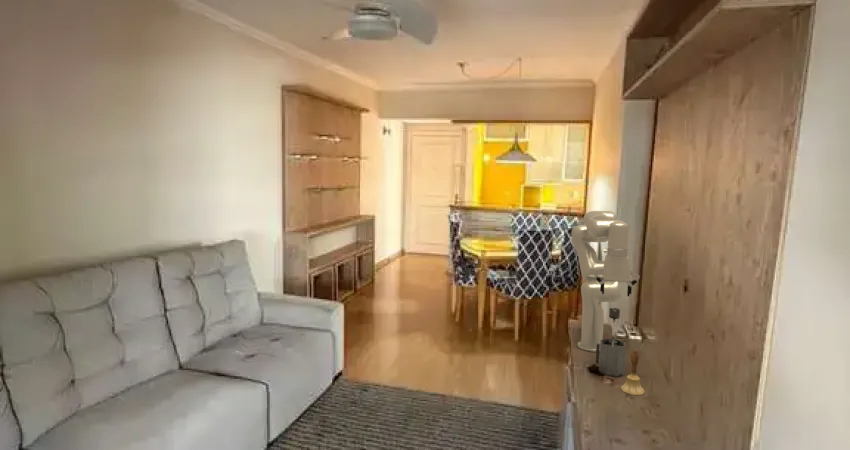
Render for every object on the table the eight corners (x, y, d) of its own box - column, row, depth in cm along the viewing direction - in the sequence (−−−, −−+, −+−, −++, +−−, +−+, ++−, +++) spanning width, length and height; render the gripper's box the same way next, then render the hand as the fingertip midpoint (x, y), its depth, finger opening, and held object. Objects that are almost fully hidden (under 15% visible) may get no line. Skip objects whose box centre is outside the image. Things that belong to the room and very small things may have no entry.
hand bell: (643, 387, 191) (645, 347, 189) (645, 396, 184) (647, 355, 182) (620, 384, 194) (622, 345, 192) (621, 393, 186) (623, 352, 184)
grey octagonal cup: (595, 365, 212) (597, 337, 211) (624, 368, 208) (625, 340, 207) (595, 374, 203) (596, 345, 202) (624, 378, 199) (626, 348, 198)
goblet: (604, 344, 208) (606, 306, 206) (621, 346, 206) (623, 307, 204) (604, 349, 202) (605, 310, 200) (621, 352, 200) (623, 312, 198)
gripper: (594, 253, 199) (592, 294, 201) (641, 255, 193) (639, 298, 195) (595, 250, 206) (593, 290, 208) (640, 252, 200) (638, 294, 202)
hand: (615, 294), depth 201 cm, fingers open, 9 cm apart
